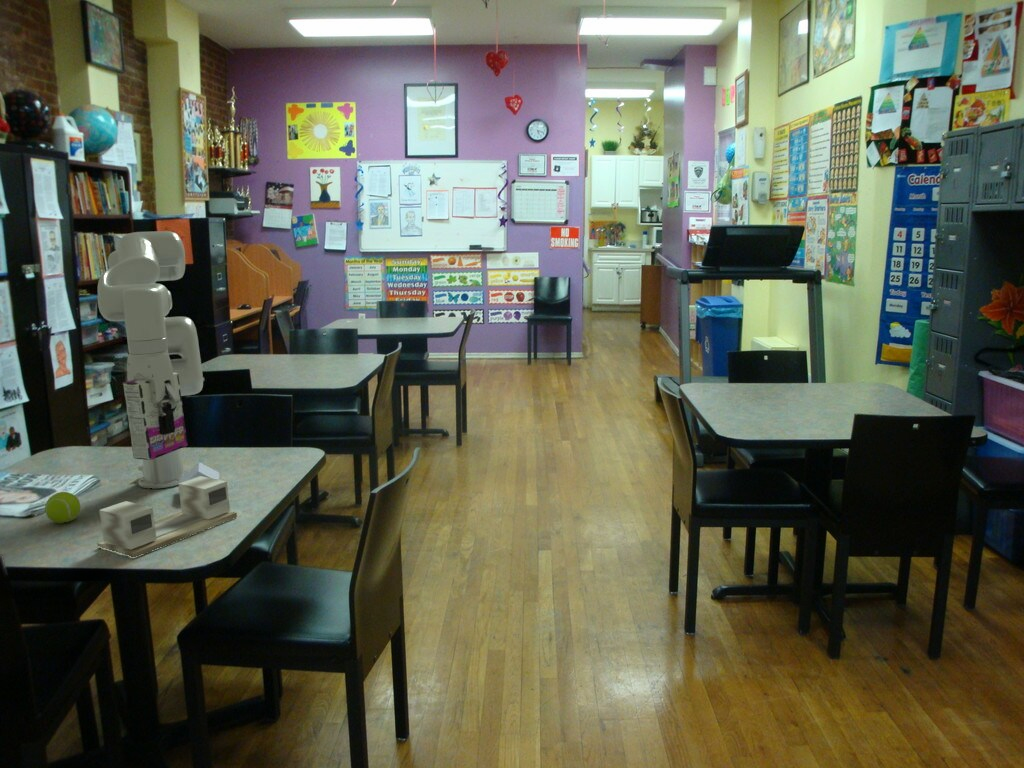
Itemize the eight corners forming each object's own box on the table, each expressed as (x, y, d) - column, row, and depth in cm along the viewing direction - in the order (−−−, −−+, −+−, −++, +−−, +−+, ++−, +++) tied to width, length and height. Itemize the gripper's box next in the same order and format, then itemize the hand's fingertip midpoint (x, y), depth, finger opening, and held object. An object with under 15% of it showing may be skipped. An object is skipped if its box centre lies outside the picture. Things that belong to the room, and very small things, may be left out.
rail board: (98, 548, 174) (92, 509, 173) (201, 509, 196) (198, 474, 194) (133, 559, 168) (128, 518, 167) (237, 517, 190) (233, 481, 188)
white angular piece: (182, 490, 211) (180, 506, 199) (179, 464, 210) (177, 479, 198) (220, 485, 214) (220, 500, 202) (218, 459, 213) (218, 474, 201)
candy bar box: (170, 444, 185) (161, 371, 181) (188, 446, 183) (180, 372, 180) (131, 459, 174) (121, 381, 171) (150, 460, 173) (140, 382, 169)
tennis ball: (56, 517, 194) (51, 488, 193) (87, 516, 195) (83, 487, 193) (41, 528, 187) (37, 498, 186) (74, 526, 188) (69, 497, 186)
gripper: (106, 347, 175) (117, 431, 179) (158, 352, 167) (169, 440, 170) (138, 342, 182) (148, 423, 185) (190, 346, 173) (199, 431, 176)
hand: (158, 430), depth 178 cm, fingers closed on candy bar box, 5 cm apart
